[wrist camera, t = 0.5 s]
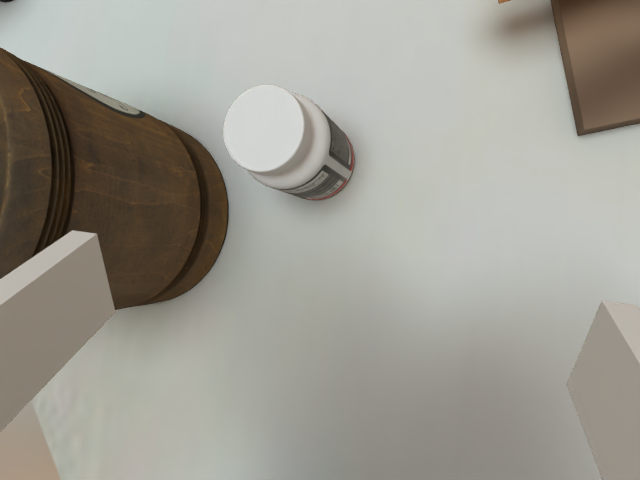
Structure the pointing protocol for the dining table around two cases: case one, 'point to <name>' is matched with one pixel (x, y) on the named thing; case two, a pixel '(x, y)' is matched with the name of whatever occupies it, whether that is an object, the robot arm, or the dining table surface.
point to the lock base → (601, 61)
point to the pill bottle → (288, 143)
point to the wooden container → (105, 185)
